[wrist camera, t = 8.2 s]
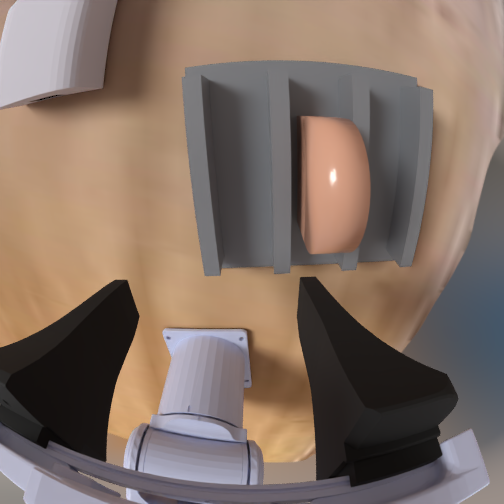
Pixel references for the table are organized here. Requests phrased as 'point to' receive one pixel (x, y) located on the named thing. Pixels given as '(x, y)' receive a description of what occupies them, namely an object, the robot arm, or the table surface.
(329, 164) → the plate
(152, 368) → the table surface
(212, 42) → the table surface
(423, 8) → the table surface
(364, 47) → the table surface
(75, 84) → the charger
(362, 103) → the dish rack
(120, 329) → the robot arm
